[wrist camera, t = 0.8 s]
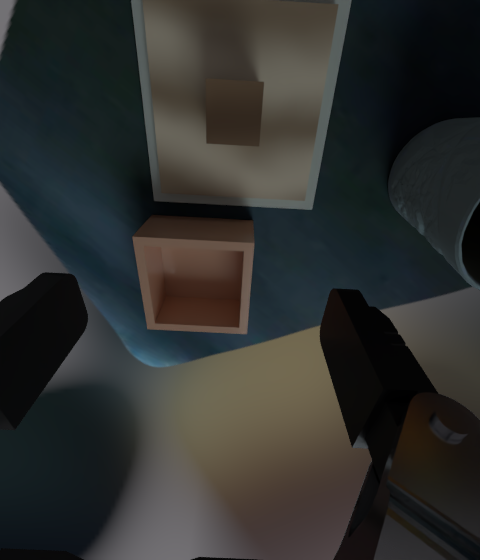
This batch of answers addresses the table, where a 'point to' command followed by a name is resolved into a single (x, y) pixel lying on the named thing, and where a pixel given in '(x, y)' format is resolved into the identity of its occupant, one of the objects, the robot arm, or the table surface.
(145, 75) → the tray
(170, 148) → the lid
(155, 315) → the open square box
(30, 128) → the table surface
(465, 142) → the grey cup
